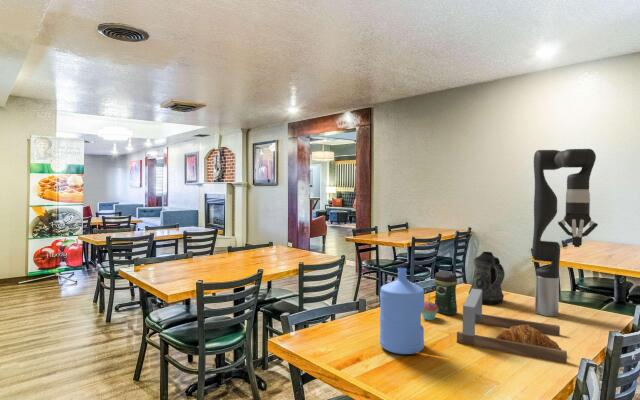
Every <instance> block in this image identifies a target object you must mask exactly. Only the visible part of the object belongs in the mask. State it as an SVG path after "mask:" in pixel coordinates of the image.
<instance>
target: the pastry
mask: <svg viewBox="0 0 640 400" xmlns="http://www.w3.org/2000/svg"><path fill="white" fill-rule="evenodd" d="M496 339H502V340H507V341H513V342H519V343H525V344H530V345H536V346H542V347H548V348H553V349H559V350H563V349H562V348H561V347H560V346H559V344H558V343H557V342H556V341H554V340H553V339H551V338H550V337H549V335H548V334H545V333H540V332H539V331H538V330H537V329H535V328H531V326H529V325H519V326H512V327H511V328H508V329H507V328H506V329H504V330H503V331H502V332H501V333H499V334H498V335H497V336H496Z"/></svg>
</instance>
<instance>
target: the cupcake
mask: <svg viewBox="0 0 640 400" xmlns="http://www.w3.org/2000/svg"><path fill="white" fill-rule="evenodd" d="M430 297H431V296H430V293H428V294H427V301H424V310H423V311H422V312H421V316H422V319H424V320H427V321H433V320H435V318H436V315H437V313H438V311H439V309H438V306H437V305H436V304H435V302H431V301H430Z"/></svg>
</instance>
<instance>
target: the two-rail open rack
mask: <svg viewBox="0 0 640 400" xmlns="http://www.w3.org/2000/svg"><path fill="white" fill-rule="evenodd" d="M476 323H477V324H483V325H490V326H496V327H503V328H506V329H507V328H508V329H509V328H511V327H512V326H519V325H529V326H531V328H535V329H537V330H538V331H539V332H540V333H542V334H544V335H552V336H557V337H560V335H561V331H560V330H561V327H560V325H556V324H550V323H543V322H536V321H532V320H531V321H530V320H524V319H523V320H522V319H517V318H509V317H502V316H497V315H489V314H483V304H482V290H480V289H472V290H471V292H470V294H469V293H468V296H467V297H466V299H465V302H464V304H462V332H460V331H457V333H456V343H458V344H463V345H469V346H473V347H479V348H485V349H489V350H494V351H500V352H505V353H510V354H516V355H517V354H518V355H521V356H527V357H531V358H537V359H543V360H548V361H554V362H558V363H564V364H567V363H568V354H567V353H568V352H567V350H563V349H562V350H559V349H553V348H548V347H542V346H536V345H530V344H525V343H519V342H513V341H507V340H502V339H496V338H495V337H490V336H483V335H478V334H476Z"/></svg>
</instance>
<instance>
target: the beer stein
mask: <svg viewBox="0 0 640 400" xmlns="http://www.w3.org/2000/svg"><path fill="white" fill-rule="evenodd" d="M500 263H501V261H500V258H498V257H496V256H495V255H494V254H493V252H491V251H482V252H481V254H479V255H478V256H476V257H475V258H474V259H473V264H474V270H473V275H472V282H471V285H470V287H469V290H468V295H469V294H470V292H471V290H472V289H480V290H482V305H487V306H488V305H489V306H490V305H491V306H497V305H502V304H503V301H504V295H505V294H504V293H503V291H502V290H503V289H502V286H501V285H502V284H503V281H504V279H505V269H504V267H503V265H502V264H500Z"/></svg>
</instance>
